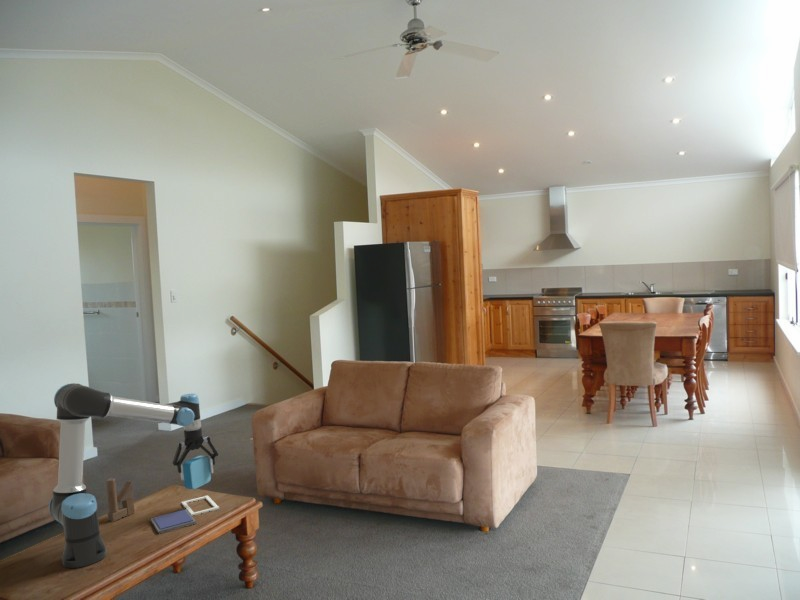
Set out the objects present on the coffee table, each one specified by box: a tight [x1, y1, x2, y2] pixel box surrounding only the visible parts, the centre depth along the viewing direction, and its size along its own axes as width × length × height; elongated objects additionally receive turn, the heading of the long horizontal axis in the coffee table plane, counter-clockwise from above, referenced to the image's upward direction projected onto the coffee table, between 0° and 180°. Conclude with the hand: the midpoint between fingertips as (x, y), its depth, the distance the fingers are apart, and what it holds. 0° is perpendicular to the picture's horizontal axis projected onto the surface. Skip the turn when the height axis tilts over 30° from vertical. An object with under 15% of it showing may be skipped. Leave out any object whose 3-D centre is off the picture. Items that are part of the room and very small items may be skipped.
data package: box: [182, 455, 212, 490], centre depth 287 cm, size 12×4×12 cm, turn 155°
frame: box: [180, 495, 220, 517], centre depth 288 cm, size 12×19×1 cm, turn 31°
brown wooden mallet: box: [105, 477, 136, 522], centre depth 281 cm, size 4×11×18 cm, turn 147°
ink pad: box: [150, 508, 197, 535], centre depth 271 cm, size 15×17×2 cm
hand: (197, 475), depth 287 cm, fingers closed on data package, 12 cm apart
